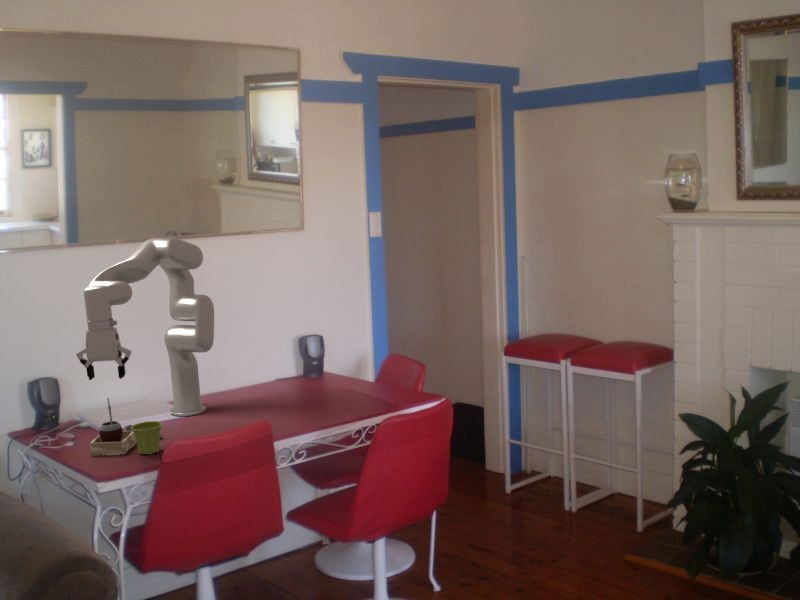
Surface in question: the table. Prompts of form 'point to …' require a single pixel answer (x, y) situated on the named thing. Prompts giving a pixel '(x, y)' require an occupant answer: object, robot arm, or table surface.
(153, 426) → the plant pot
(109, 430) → the mate gourd
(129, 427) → the clip
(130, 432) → the holder
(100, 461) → the table surface
